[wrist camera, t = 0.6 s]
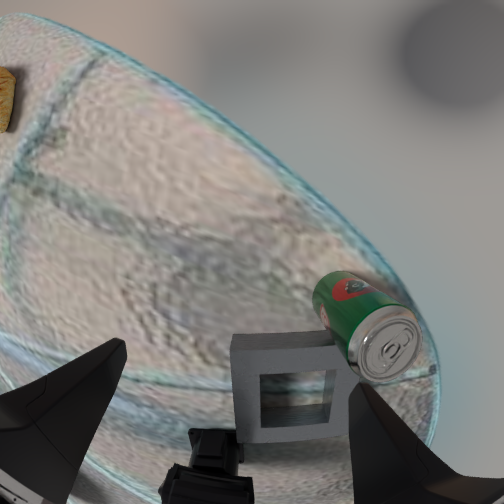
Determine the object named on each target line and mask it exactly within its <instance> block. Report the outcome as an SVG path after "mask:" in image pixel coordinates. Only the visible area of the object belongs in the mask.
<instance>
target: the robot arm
mask: <svg viewBox="0 0 504 504" xmlns="http://www.w3.org/2000/svg"><path fill="white" fill-rule="evenodd" d="M126 360H127V351H126V344H125V341H124V340H122V339H119V338H113V339H111V340H109V341H107V342H105V343H104V344H102V345H100V346H98V347H96V348H94V349H93V350H91V351H89V352H87V353H85V354H83V355H82V356H80V357H78V358H76V359H74V360H72V361H71V362H69V363H67V364H65V365H63V366H61V367H60V368H58V369H56V370H54V371H52V372H50V373H48V374H47V375H45V376H43V377H41V378H39V379H37V380H35V381H33V382H31V383H29V384H27V385H24V386H22V387H20V388H17V389H15V390H12V391H9V392H7V393H4V394H2V395H0V504H41V503H42V501H43V499H46V500H48V501H50V502H51V503H53V504H66V502H67V499H68V496H69V494H70V491H71V489H72V486H73V484H74V481H75V479H76V476H77V474H78V471H79V469H80V466H81V464H82V462H83V459H84V457H85V455H86V452H87V450H88V448H89V446H90V443H91V441H92V439H93V437H94V435H95V432H96V430H97V428H98V426H99V424H100V422H101V420H102V417H103V415H104V413H105V411H106V409H107V407H108V405H109V403H110V401H111V399H112V397H113V395H114V393H115V390H116V388H117V385H118V382H119V379H120V377H121V374H122V371H123V368H124V366H125V363H126ZM348 411H349V441H350V451H351V462H352V474H353V489H354V504H504V478H480V477H469V476H463V475H460V474H458V473H456V472H455V471H454V470H453V469H451V468H450V467H449V466H448V465H447V464H445V463H444V462H443V461H442V460H441V459H440V458H439V457H437V456H436V455H435V454H434V453H433V452H432V451H431V450H430V449H429V448H428V447H427V446H426V445H425V444H424V443H423V442H422V441H421V440H420V439H419V438H418V436H417V435H416V434H415V433H414V432H413V431H412V430H411V429H410V428H409V427H408V426H407V425H406V423H405V422H404V421H403V420H402V419H401V418H400V417H399V416H398V415H397V414H396V413H395V411H394V410H393V409H392V408H391V407H390V406H389V405H388V404H387V403H386V402H385V401H384V400H383V398H382V397H381V396H380V395H379V394H378V393H377V392H376V391H375V390H374V389H373V388H372V386H371V385H370V384H369V383H366V382H359V383H357V384H356V386H355V387H354V389H353V390H352V392H351V393H350V395H349V399H348ZM192 432H193V433H192ZM188 435H189V439H190V443H191V446H192V450H193V451H192V454H191V458H190V462H189V466H188V467H186V466H182V465H179V464H176V463H174V466H173V467H171V469H170V470H168V473H167V476H166V478H165V480H164V482H163V483H162V485H161V486H160V487H159V489H158V493H159V494H160V496H161V500H162V504H254V489H253V480H252V477H242V476H238V465H239V463H243V462H244V454H243V443H237V435H236V431H219V430H202V429H189V431H188Z"/></svg>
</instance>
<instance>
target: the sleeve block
mask: <svg viewBox="0 0 504 504" xmlns="http://www.w3.org/2000/svg"><path fill="white" fill-rule="evenodd" d="M230 363H231V377H232V390H233V402H234V413H235V424H236V435H237V443H276V442H292V441H303V440H313V439H321V438H328V437H335V436H341V435H347V434H348V431H349V411H348V399H349V395H350V393H351V392H352V390H353V389H354V387H355V386H356V384H357V383H359V380H360V376H358V375H357V374H355V373H354V372H353V371H352V370H351V368H350V367H349V365H348V364H347V362H346V360H345V359H344V357H343V355H342V354H341V352H340V351H339V349H338V347H337V346H336V344H335V342H334V341H333V339H332V338H331V336H330V334H329V333H328V331H327V330H323V331H309V332H292V333H268V334H233V336H232V341H231V346H230ZM321 370H326V377H325V386H324V394H323V402H322V404H315V405H304V406H292V407H274V408H260V374H280V373H297V372H310V371H321Z"/></svg>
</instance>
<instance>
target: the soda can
mask: <svg viewBox="0 0 504 504" xmlns="http://www.w3.org/2000/svg"><path fill="white" fill-rule="evenodd" d="M312 303H313V308H314V310H315V312H316V314H317V315H318V317H319V318H320V320H321V322H322V323H323V325H324V326H325V328H326V330H327V331H328V333H329V334H330V336H331V338H332V339H333V341H334V342H335V344H336V346H337V347H338V349H339V351H340V352H341V354H342V355H343V357H344V359H345V360H346V362H347V364H348V365H349V367H350V368H351V370H352V371H353V372H354V373H355V374H357V375H358V376H360V377H363V378H366V379H368V380H370V381H373V382H387V381H390V380H393V379H395V378H397V377H399V376H400V375H402V374H403V373H404V372H406V371H407V370H408V369H409V368H410V367H411V365H412V364H413V363H414V361H415V360H416V358H417V356H418V354H419V352H420V349H421V346H422V331H421V328H420V326H419V324H418V321H417V319H416V316H415V315H414V313H413V312H412V311H411V310H410V309H409V308H408V307H406V306H404V305H403V304H401V303H400V302H398V301H396V300H395V299H393V298H391V297H390V296H388V295H386V294H385V293H383V292H381V291H380V290H378V289H376V288H375V287H373V286H371V285H370V284H368V283H366V282H364V281H363V280H361V279H359V278H358V277H356V276H354V275H353V274H351V273H348V272H345V271H336V272H332V273H330V274H328V275H326V276H324V277H323V278H322V279H321V280H320V281H319V282H318V284H317V285H316V287H315V289H314V292H313V297H312Z"/></svg>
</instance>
